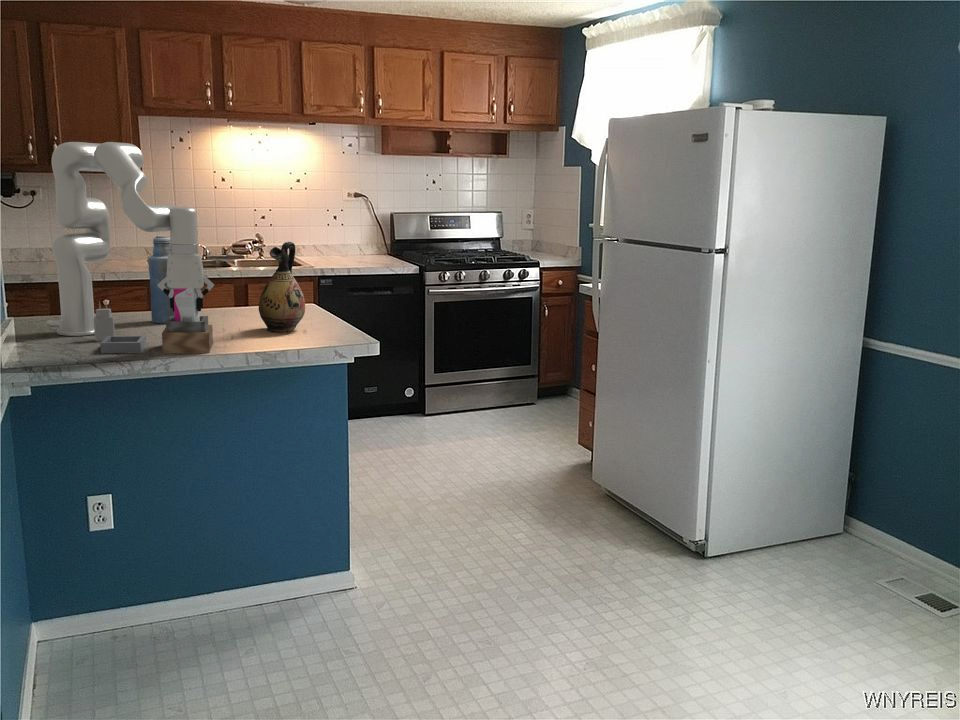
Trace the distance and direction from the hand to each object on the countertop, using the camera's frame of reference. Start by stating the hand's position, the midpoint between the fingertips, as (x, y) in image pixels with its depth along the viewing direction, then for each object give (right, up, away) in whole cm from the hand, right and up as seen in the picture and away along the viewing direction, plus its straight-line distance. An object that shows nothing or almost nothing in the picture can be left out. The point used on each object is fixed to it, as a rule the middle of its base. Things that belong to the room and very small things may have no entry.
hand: (187, 310), depth 243 cm
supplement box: (0, -4, +1) cm, 4 cm away
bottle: (-23, -2, +44) cm, 50 cm away
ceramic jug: (+20, -5, +38) cm, 43 cm away
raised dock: (0, -11, +2) cm, 12 cm away
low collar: (-18, -12, -2) cm, 21 cm away
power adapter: (-29, -9, +11) cm, 32 cm away
